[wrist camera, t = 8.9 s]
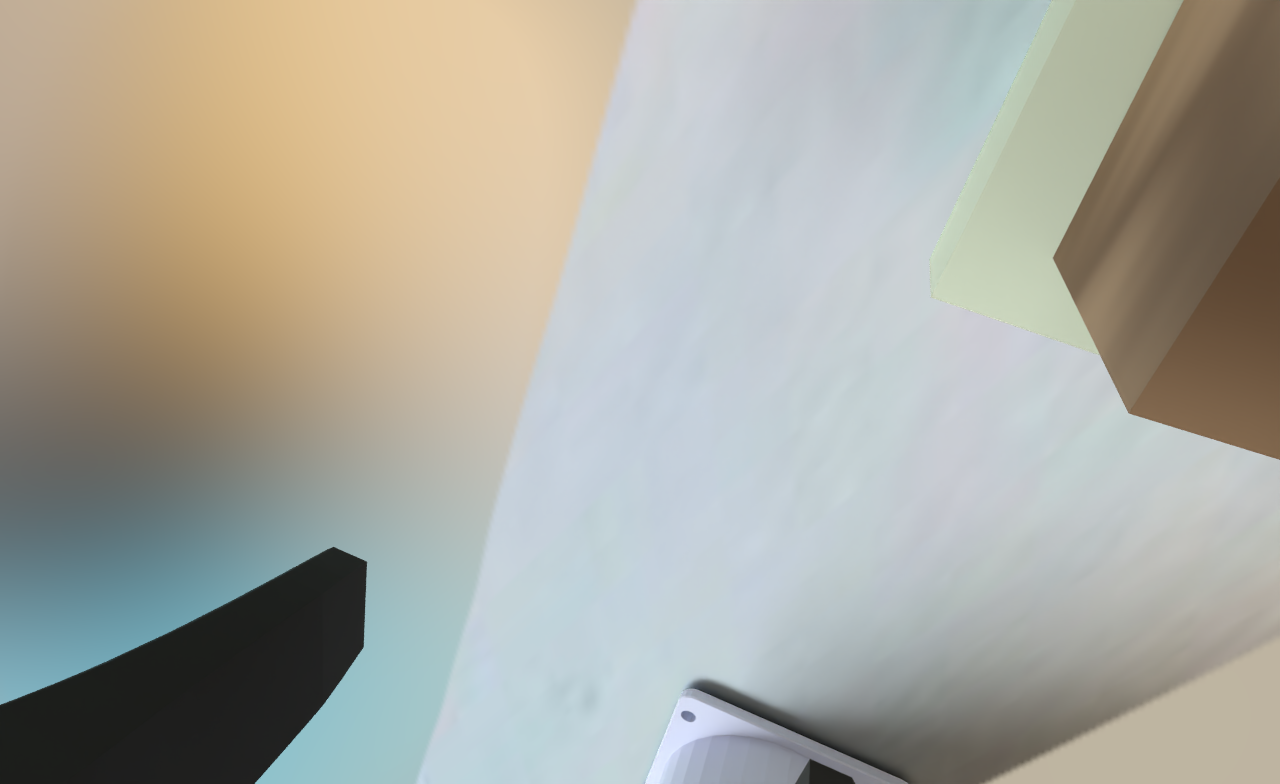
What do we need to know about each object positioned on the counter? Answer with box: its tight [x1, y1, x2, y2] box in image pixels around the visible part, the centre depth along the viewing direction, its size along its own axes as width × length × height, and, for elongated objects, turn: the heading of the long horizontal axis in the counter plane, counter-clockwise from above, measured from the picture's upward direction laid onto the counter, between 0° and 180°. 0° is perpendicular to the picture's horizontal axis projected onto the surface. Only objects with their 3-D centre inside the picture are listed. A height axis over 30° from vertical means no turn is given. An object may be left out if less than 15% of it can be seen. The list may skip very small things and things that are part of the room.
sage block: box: [929, 0, 1184, 355], centre depth 13 cm, size 8×8×3 cm
